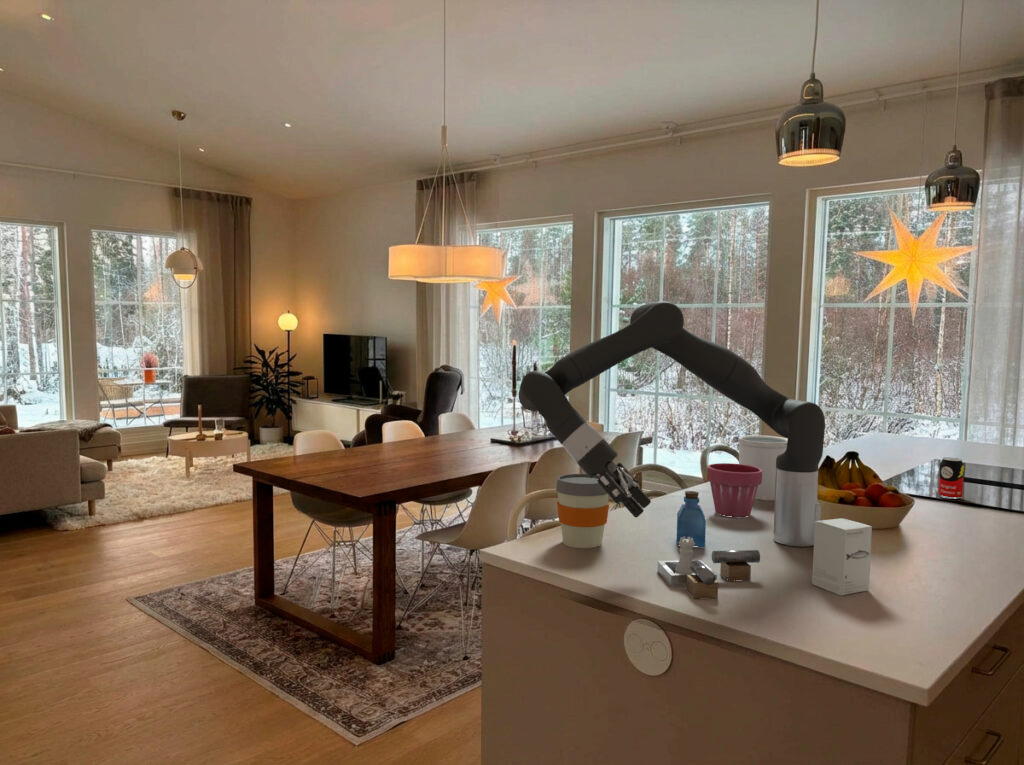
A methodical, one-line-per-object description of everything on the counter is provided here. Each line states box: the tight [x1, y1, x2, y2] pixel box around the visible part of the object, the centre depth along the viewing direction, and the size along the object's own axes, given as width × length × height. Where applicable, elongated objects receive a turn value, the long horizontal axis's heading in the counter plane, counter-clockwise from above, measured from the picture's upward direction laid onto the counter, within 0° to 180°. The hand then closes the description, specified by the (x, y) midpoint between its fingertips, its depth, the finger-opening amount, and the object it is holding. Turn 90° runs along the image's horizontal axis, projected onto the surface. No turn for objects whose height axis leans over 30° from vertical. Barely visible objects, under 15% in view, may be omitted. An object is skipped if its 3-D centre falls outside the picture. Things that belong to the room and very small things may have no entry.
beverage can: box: [937, 457, 965, 498], centre depth 219 cm, size 6×6×12 cm
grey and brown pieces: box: [657, 549, 761, 600], centre depth 140 cm, size 19×17×5 cm
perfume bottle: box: [676, 490, 707, 548], centre depth 168 cm, size 6×6×12 cm
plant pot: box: [706, 462, 762, 518], centre depth 197 cm, size 14×14×13 cm
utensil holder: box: [738, 434, 788, 501], centre depth 220 cm, size 15×15×18 cm
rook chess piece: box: [675, 537, 695, 574], centre depth 144 cm, size 4×4×8 cm
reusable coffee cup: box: [555, 473, 610, 549], centre depth 168 cm, size 13×13×15 cm
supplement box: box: [811, 517, 873, 597], centre depth 139 cm, size 7×7×13 cm
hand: (644, 509), depth 146 cm, fingers open, 8 cm apart
